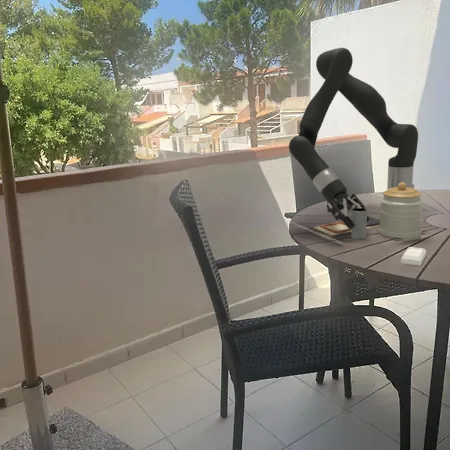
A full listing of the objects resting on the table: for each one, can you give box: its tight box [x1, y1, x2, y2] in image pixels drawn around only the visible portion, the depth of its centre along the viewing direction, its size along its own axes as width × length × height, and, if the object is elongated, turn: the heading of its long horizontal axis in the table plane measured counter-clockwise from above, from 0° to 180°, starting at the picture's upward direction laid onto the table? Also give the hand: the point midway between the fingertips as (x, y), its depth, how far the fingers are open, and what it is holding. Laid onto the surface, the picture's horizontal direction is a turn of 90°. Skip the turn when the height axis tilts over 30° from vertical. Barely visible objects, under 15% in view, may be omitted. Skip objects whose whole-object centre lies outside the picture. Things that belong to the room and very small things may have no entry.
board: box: [311, 216, 380, 240], centre depth 152 cm, size 26×11×2 cm, turn 113°
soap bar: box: [400, 246, 427, 267], centre depth 121 cm, size 5×9×3 cm, turn 147°
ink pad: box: [350, 215, 380, 227], centre depth 154 cm, size 9×9×1 cm
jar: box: [378, 182, 424, 242], centre depth 139 cm, size 13×13×18 cm
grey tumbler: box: [350, 207, 368, 240], centre depth 138 cm, size 4×4×10 cm
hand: (360, 224), depth 137 cm, fingers open, 8 cm apart
